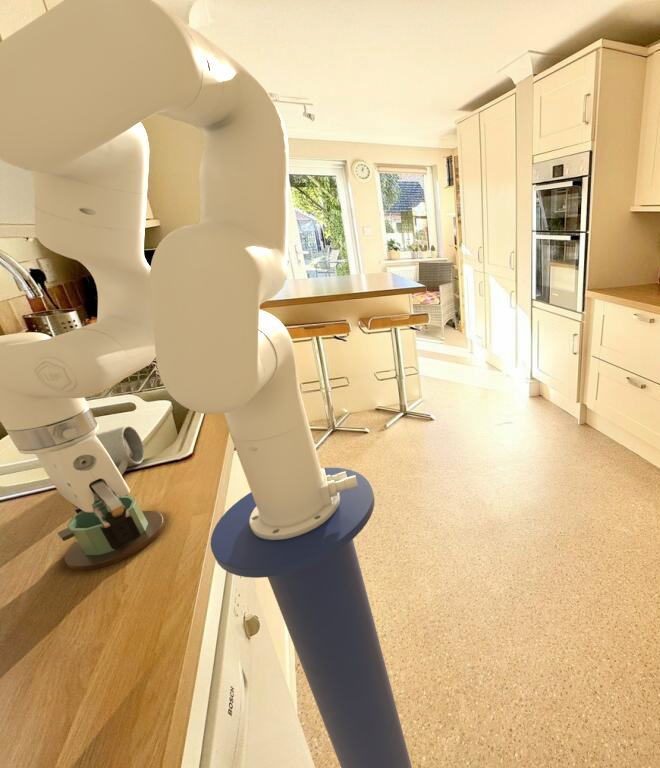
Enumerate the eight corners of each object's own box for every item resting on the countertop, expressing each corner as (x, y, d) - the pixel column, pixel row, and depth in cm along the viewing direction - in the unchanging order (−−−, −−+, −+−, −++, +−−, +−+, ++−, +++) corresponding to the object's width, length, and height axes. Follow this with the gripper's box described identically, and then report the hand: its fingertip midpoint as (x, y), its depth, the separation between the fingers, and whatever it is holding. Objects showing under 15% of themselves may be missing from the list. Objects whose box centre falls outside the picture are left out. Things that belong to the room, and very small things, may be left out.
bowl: (136, 513, 65) (124, 490, 64) (155, 529, 62) (143, 505, 60) (65, 548, 59) (49, 523, 57) (82, 568, 55) (66, 543, 54)
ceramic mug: (96, 463, 81) (77, 429, 77) (148, 451, 84) (132, 418, 81) (74, 495, 72) (52, 458, 69) (133, 480, 75) (115, 444, 72)
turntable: (171, 506, 68) (169, 502, 68) (156, 550, 59) (153, 546, 59) (83, 530, 63) (81, 526, 63) (52, 583, 54) (49, 578, 54)
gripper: (122, 429, 53) (173, 535, 60) (66, 404, 60) (118, 501, 67) (41, 459, 47) (109, 573, 54) (-10, 428, 54) (56, 531, 61)
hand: (113, 532), depth 60 cm, fingers closed on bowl, 7 cm apart
